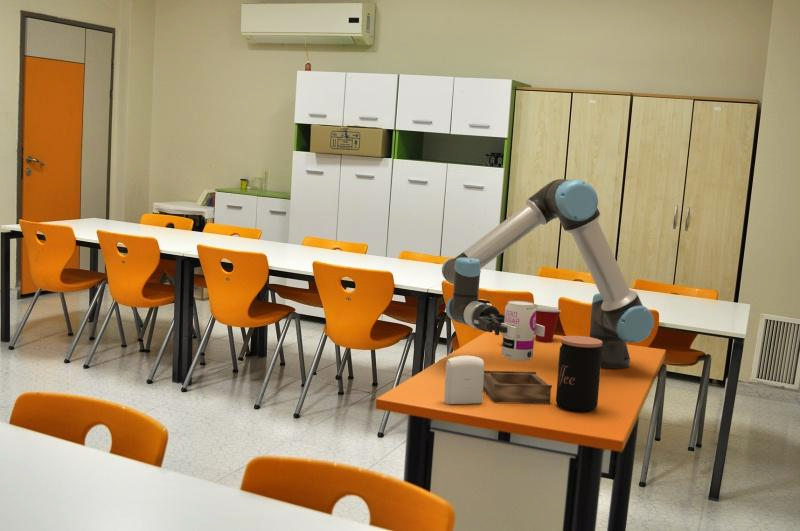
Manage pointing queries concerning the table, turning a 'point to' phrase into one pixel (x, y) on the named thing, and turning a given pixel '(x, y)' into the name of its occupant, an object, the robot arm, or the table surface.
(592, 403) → the coffee jar
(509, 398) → the crate
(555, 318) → the plastic cup
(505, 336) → the supplement can
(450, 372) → the white rounded block
